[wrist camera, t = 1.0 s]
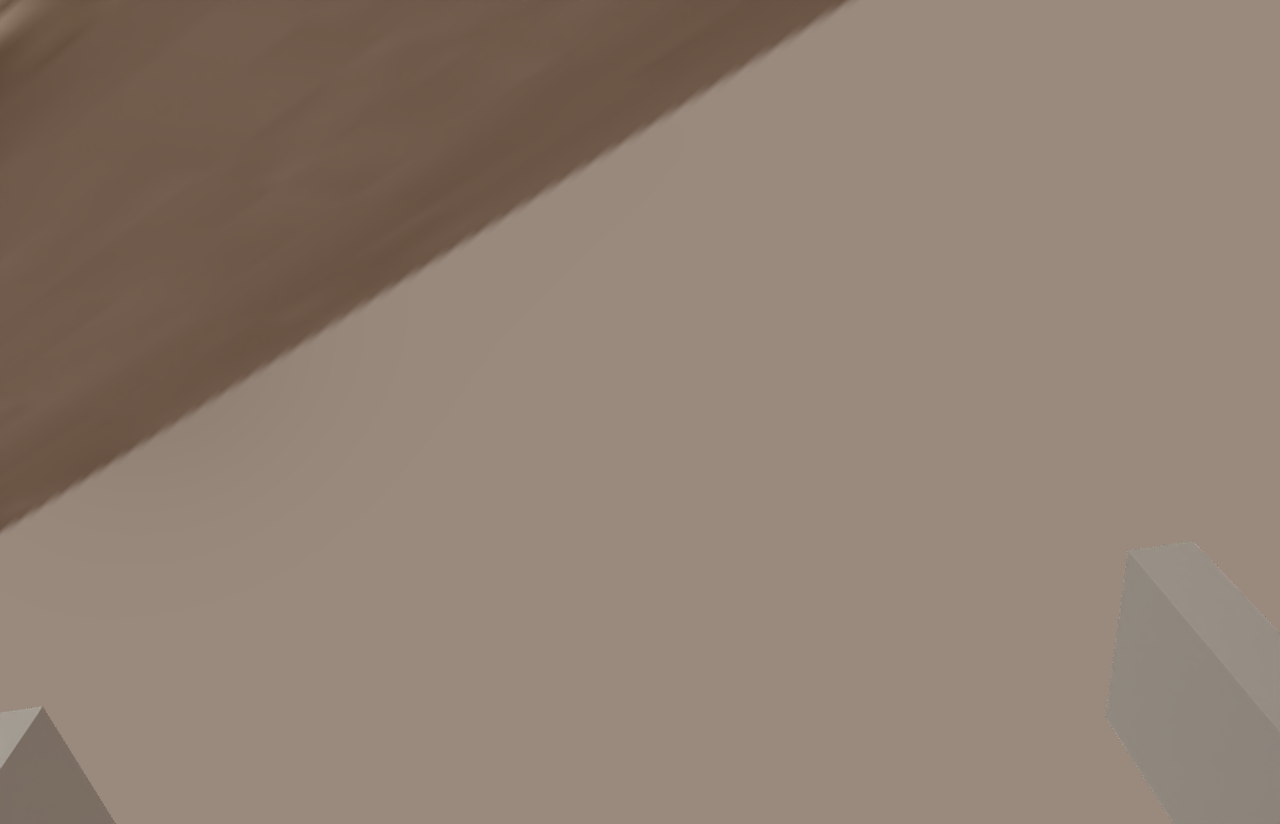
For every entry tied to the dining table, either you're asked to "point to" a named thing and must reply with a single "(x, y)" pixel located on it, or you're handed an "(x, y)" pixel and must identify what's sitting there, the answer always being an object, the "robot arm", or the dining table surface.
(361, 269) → the dining table surface
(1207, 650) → the robot arm
